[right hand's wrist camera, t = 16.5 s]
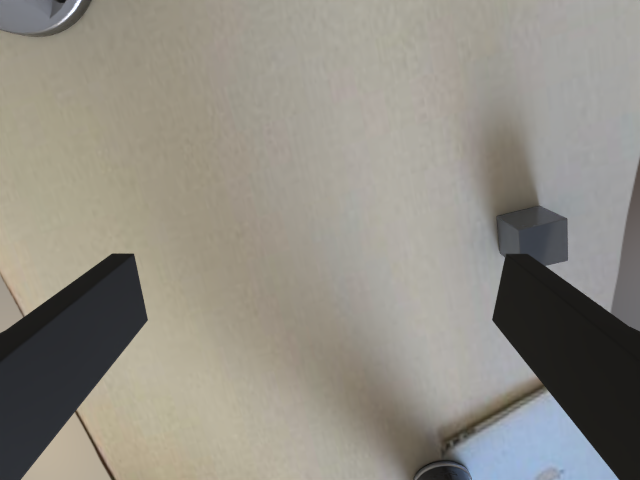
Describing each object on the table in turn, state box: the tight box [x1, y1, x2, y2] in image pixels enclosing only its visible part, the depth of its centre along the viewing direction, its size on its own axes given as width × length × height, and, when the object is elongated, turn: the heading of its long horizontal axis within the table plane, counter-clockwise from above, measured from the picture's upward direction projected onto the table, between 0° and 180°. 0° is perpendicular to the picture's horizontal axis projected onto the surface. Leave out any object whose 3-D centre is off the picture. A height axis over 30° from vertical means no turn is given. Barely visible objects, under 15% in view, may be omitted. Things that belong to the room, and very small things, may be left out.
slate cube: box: [497, 206, 568, 266], centre depth 40 cm, size 5×5×5 cm
